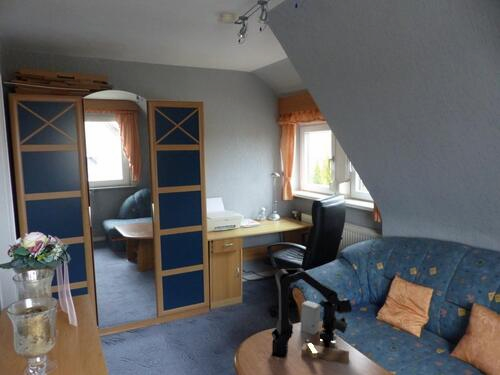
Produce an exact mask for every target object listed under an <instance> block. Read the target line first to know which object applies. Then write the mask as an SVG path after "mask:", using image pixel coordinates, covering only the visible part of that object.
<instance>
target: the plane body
mask: <svg viewBox="0 0 500 375" xmlns="http://www.w3.org/2000/svg"><path fill="white" fill-rule="evenodd" d="M312 345H313V347H314V348H315V350H316V351H317V358H316V359H320V360H324V361H331V362H336V363H341V364H346V365H349V359H350V350H344V349H338V348H337V349H334V348H328V347H322V346H320V345H315V344H312ZM300 353H301V356H303V357H309V358H313V357H312V355H311V354H310V352H309V350H308V349H307V347H306V342H305V343H303V344H302V347H301V352H300Z"/></svg>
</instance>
